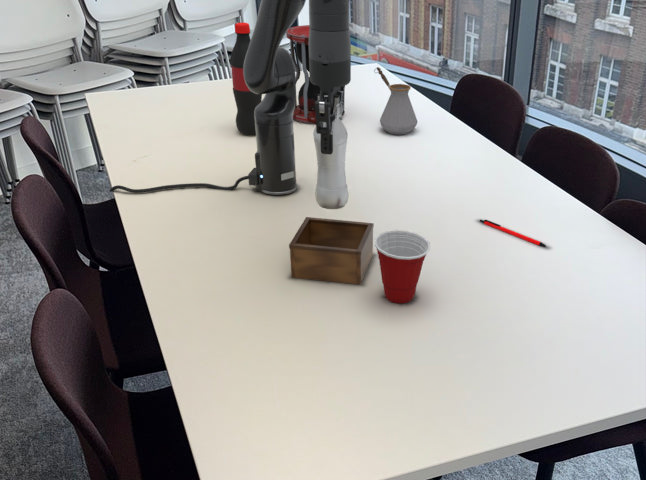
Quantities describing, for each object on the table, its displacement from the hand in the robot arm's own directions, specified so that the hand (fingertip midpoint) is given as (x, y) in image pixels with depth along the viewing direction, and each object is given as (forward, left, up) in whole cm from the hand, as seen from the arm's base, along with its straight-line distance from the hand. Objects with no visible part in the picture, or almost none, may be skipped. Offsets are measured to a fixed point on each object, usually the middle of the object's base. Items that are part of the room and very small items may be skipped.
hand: (331, 147), depth 147 cm
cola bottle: (-43, +77, -25) cm, 92 cm away
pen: (+37, +24, -26) cm, 51 cm away
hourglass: (-28, +97, -25) cm, 105 cm away
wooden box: (0, -1, -25) cm, 25 cm away
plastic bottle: (0, 0, -12) cm, 12 cm away
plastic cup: (+16, -11, -25) cm, 32 cm away
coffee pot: (-3, +93, -25) cm, 97 cm away
